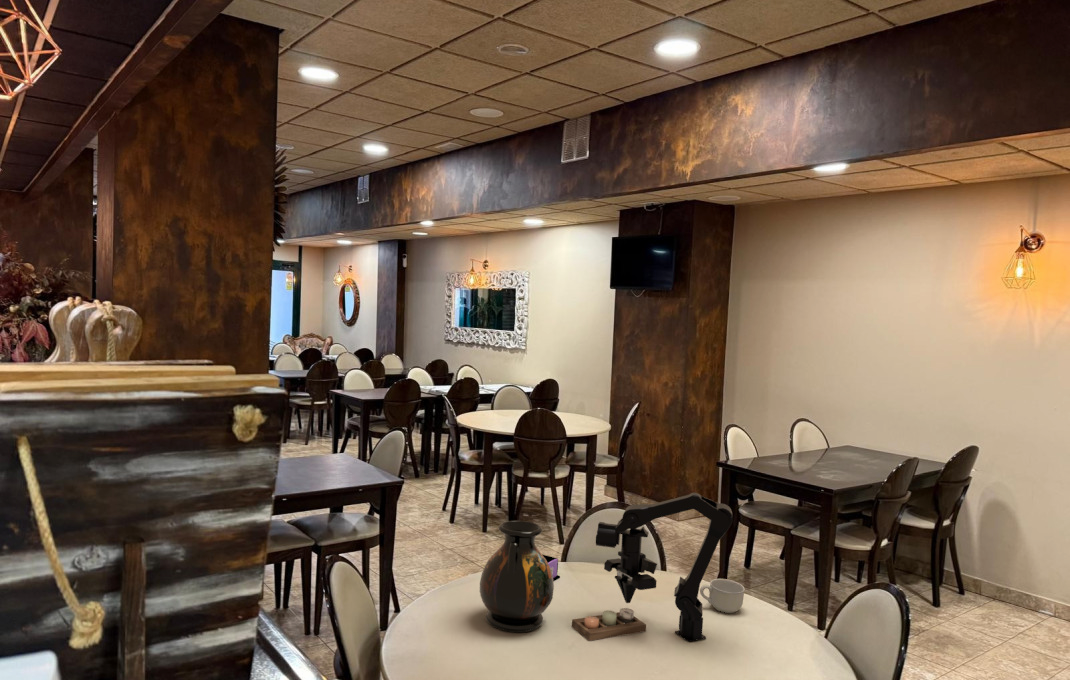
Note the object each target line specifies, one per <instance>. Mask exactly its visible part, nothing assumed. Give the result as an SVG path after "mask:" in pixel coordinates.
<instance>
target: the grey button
mask: <svg viewBox="0 0 1070 680" xmlns="http://www.w3.org/2000/svg"><path fill="white" fill-rule="evenodd" d="M619 612H620V619H619V621H621V622H622V623H624V624H626V623H632V622H633V616H634V613H635V611H634V609H632V608H628V607H622V608H620V610H619ZM634 617H635V616H634Z"/></svg>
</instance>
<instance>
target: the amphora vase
mask: <svg viewBox="0 0 1070 680" xmlns="http://www.w3.org/2000/svg"><path fill="white" fill-rule="evenodd" d="M497 529H498V531H499V532H501V533H502V534H503V535H504V541H503V543H502V545H501V546H499V548H498V549H497V550H496V551H495V552H494V553H492V555H491V556H490V557H489V558H488V560H487V562H486V563H485V566H484V567H483V570H482V573H481V576H480V581H479V594H480V595H479V596H480V597H481V601H482V603H483V605H484V606H485V608H486V609H487V610H488V611H487V613H486V615H485V616H486V620H487V622H488V623H489V624H490V626H492V627H494V628H495V629H498V630H500V631H504V632H509V633H526V632H530V631H533V630H536V629H538V628H539V627H540V626H541V625H542V624H543V621H544V616H543V613H545V611H546V610H547V609H548V607H549V606H550V605H551V603H552V601H553V599H554V597H553V596H554V589H555V584H554V582H555V581H554V582H553V575H552V571H551V569H550V566H549V564H548V562H547V561H546V559H545V558H544V556H543V555H544V554H542V553H541V552H540V550H539V549H538V548H537V545H536V543H535V542H536V541H535V540H536V536H539V535H541V534H542V533H543V527H542V526H541V525H540V524H538V523H536V522H531V521H527V520H526V521H525V520H507V521H504V522H501V523H500V524H499V525H498V527H497Z"/></svg>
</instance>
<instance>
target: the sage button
mask: <svg viewBox="0 0 1070 680" xmlns="http://www.w3.org/2000/svg"><path fill="white" fill-rule="evenodd" d="M617 613H618V612H616V611H613V610H604V611H602V615H603V617H602V624H604V625H605V626H606V627H607V626H613V625H616V617H617Z"/></svg>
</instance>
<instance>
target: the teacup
mask: <svg viewBox="0 0 1070 680" xmlns="http://www.w3.org/2000/svg"><path fill="white" fill-rule="evenodd" d="M709 584H710V585H709ZM709 584H703V585H702V586H701V587H699V593H700V595H701V597H702V598H703V599H704V600H706V601H707V602H708V603H709V604H710V605H712V606H713V608H714V609H715V610H716V611H718V612H720V611H721V613H724V612H725V613H726V614H733V613H736V612H737V611H739V610H741V608H743V607H742V606H743V604H744V603H743V602H744V596H745V591H746V589H745V587H744V585H742V584H741V583H740V582H737V581H735V580H731V579H726V578H715V579H712V580H710V582H709ZM706 589H707V590H708V593H709V594H708V596H709V597H708V596H707V595H705V593H704V591H705V590H706ZM725 613H724V614H725Z"/></svg>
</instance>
